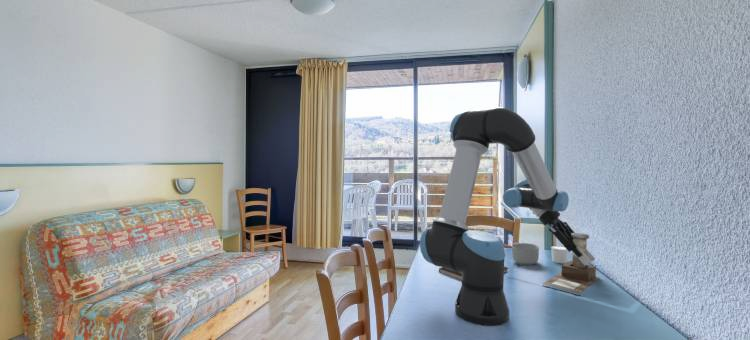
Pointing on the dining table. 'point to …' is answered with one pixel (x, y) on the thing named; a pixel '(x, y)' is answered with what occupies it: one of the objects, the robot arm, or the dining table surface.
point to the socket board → (573, 278)
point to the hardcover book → (457, 274)
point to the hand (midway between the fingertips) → (590, 262)
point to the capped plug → (580, 242)
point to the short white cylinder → (559, 254)
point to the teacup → (525, 253)
